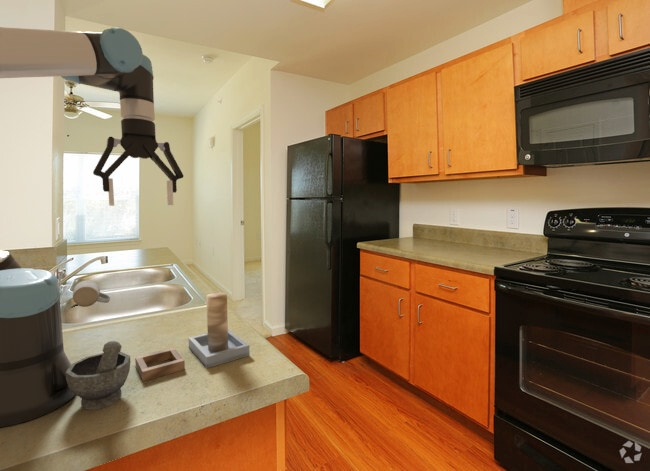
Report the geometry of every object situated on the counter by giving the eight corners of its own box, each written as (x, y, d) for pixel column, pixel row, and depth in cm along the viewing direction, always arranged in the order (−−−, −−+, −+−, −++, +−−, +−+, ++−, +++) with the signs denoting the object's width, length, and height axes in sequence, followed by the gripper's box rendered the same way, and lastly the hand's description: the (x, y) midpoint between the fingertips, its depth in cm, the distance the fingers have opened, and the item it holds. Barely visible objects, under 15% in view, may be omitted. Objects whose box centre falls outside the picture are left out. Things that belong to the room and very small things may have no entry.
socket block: (143, 381, 70) (142, 371, 70) (135, 365, 76) (135, 357, 76) (184, 369, 75) (184, 360, 74) (174, 355, 81) (174, 347, 81)
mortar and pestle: (60, 403, 62) (54, 339, 61) (114, 380, 70) (110, 323, 69) (90, 425, 56) (85, 355, 55) (146, 397, 64) (142, 335, 63)
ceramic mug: (72, 309, 113) (71, 286, 113) (74, 303, 120) (72, 281, 119) (110, 304, 119) (109, 282, 118) (110, 298, 126) (109, 278, 125)
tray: (207, 368, 75) (206, 357, 75) (188, 347, 85) (188, 337, 85) (249, 355, 81) (249, 345, 81) (227, 337, 92) (227, 328, 91)
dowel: (212, 354, 80) (210, 299, 78) (205, 347, 84) (203, 294, 82) (231, 348, 83) (230, 296, 81) (223, 342, 87) (222, 291, 85)
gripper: (185, 128, 98) (187, 204, 100) (76, 115, 82) (82, 205, 85) (193, 124, 92) (196, 205, 94) (78, 109, 76) (84, 206, 79)
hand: (142, 205), depth 89 cm, fingers open, 13 cm apart
